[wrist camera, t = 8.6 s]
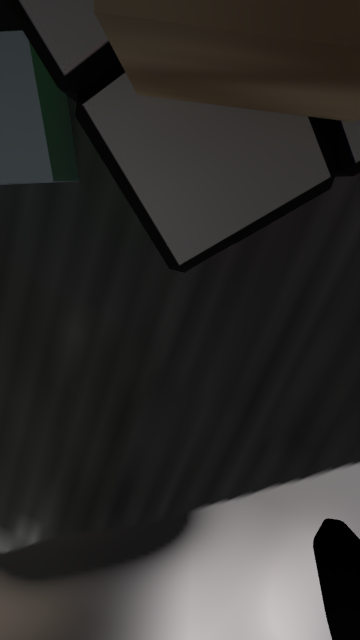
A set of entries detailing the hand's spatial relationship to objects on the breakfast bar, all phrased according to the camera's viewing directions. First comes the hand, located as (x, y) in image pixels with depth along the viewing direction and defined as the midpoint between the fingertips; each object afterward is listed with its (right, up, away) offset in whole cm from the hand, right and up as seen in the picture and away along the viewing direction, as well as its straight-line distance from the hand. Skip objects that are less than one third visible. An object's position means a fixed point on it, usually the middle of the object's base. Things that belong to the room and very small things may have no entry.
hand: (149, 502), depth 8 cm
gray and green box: (-7, +14, +8) cm, 18 cm away
